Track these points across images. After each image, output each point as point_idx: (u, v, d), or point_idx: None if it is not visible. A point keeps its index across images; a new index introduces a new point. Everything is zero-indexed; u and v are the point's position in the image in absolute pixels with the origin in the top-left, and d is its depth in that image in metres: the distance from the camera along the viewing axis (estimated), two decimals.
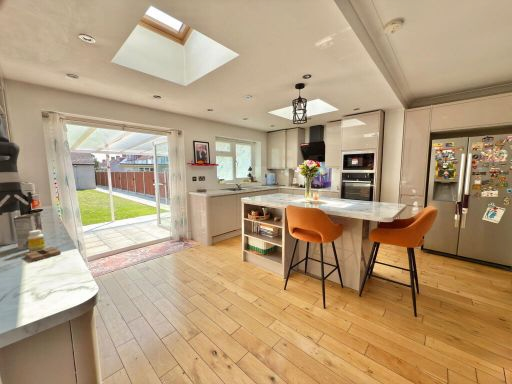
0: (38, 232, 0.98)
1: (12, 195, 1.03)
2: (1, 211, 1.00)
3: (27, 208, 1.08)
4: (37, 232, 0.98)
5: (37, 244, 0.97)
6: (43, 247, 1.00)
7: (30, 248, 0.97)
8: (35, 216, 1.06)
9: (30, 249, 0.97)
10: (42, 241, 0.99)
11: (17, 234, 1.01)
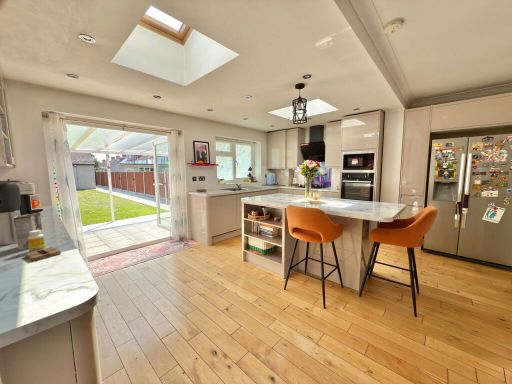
0: (38, 232, 0.98)
1: None
2: None
3: None
4: (37, 232, 0.98)
5: (37, 244, 0.97)
6: (43, 247, 1.00)
7: (30, 248, 0.97)
8: (35, 216, 1.06)
9: (30, 249, 0.97)
10: (42, 241, 0.99)
11: (17, 234, 1.01)
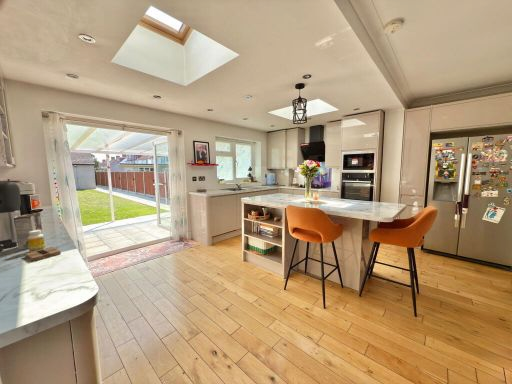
0: (38, 232, 0.98)
1: None
2: None
3: (11, 247, 0.89)
4: (37, 232, 0.98)
5: (37, 244, 0.97)
6: (43, 247, 1.00)
7: (30, 248, 0.97)
8: (35, 216, 1.06)
9: (30, 249, 0.97)
10: (42, 241, 0.99)
11: (17, 234, 1.01)
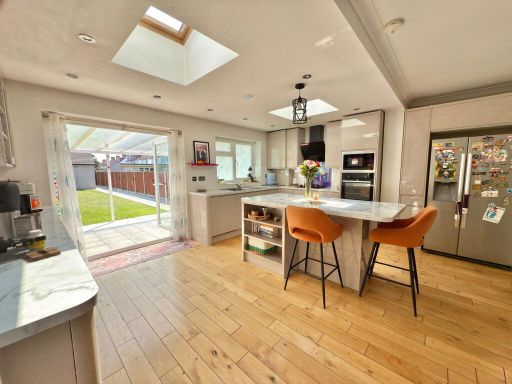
0: (38, 232, 0.98)
1: None
2: None
3: (41, 240, 0.98)
4: (37, 232, 0.98)
5: (37, 244, 0.97)
6: (43, 247, 1.00)
7: (30, 248, 0.97)
8: (35, 216, 1.06)
9: (30, 249, 0.97)
10: (42, 241, 0.99)
11: (17, 234, 1.01)
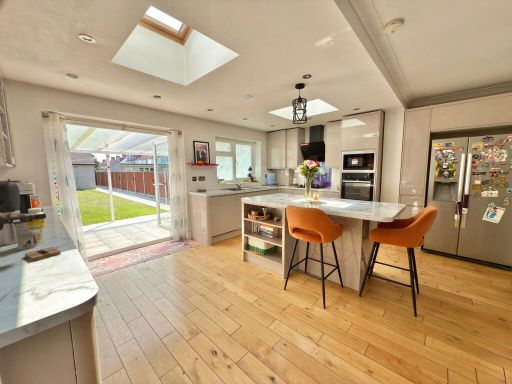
0: (38, 210, 0.91)
1: None
2: None
3: (40, 218, 0.91)
4: (37, 210, 0.90)
5: (36, 222, 0.90)
6: (43, 226, 0.92)
7: (29, 227, 0.89)
8: None
9: (29, 228, 0.89)
10: (42, 220, 0.92)
11: (17, 234, 1.01)
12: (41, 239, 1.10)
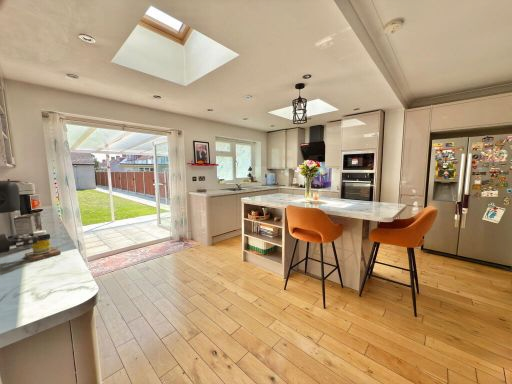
0: (43, 233, 0.91)
1: None
2: None
3: (44, 239, 0.90)
4: (42, 233, 0.91)
5: (42, 245, 0.90)
6: (48, 249, 0.93)
7: (34, 250, 0.90)
8: (35, 216, 1.06)
9: (34, 251, 0.90)
10: (47, 242, 0.92)
11: (17, 234, 1.01)
12: None
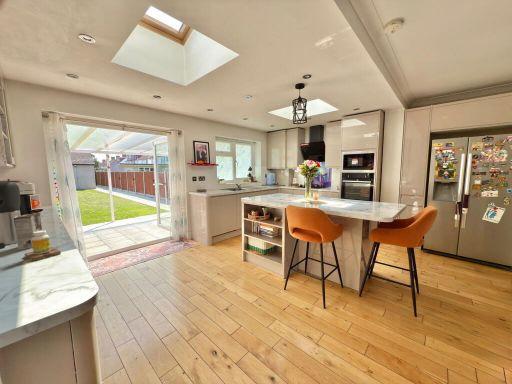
0: (43, 233, 0.91)
1: None
2: None
3: None
4: (42, 233, 0.91)
5: (42, 245, 0.90)
6: (48, 249, 0.93)
7: (34, 250, 0.90)
8: (35, 216, 1.06)
9: (34, 251, 0.90)
10: (47, 242, 0.92)
11: (17, 234, 1.01)
12: None
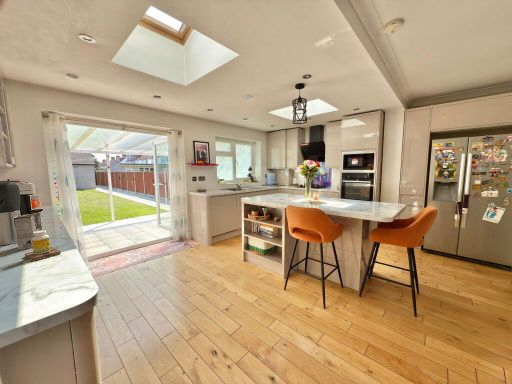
0: (43, 233, 0.91)
1: None
2: None
3: None
4: (42, 233, 0.91)
5: (42, 245, 0.90)
6: (48, 249, 0.93)
7: (34, 250, 0.90)
8: (35, 216, 1.06)
9: (34, 251, 0.90)
10: (47, 242, 0.92)
11: (17, 234, 1.01)
12: None
